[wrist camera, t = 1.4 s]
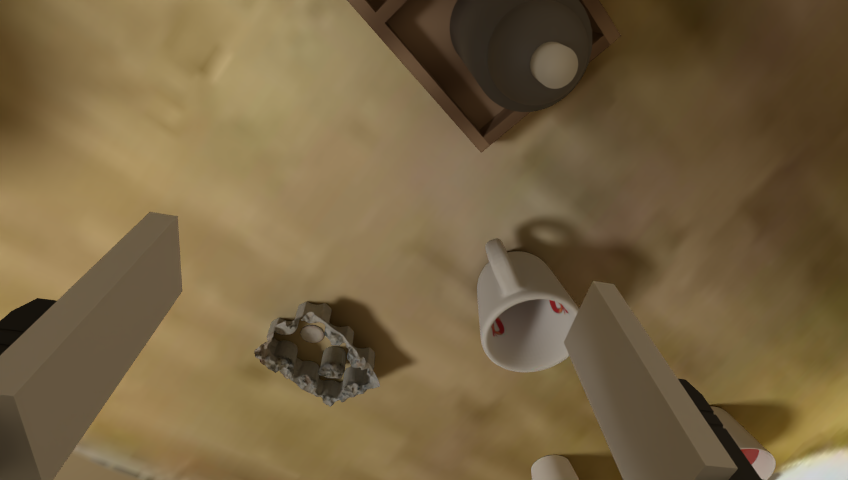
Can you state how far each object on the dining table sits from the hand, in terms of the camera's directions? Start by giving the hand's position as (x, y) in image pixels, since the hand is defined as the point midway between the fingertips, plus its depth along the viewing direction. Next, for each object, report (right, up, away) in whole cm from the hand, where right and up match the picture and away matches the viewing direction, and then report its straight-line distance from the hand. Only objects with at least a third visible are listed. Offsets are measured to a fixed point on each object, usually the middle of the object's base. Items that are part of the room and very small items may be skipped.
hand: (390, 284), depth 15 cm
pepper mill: (+6, +16, +16) cm, 23 cm away
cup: (+8, -1, +27) cm, 28 cm away
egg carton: (-9, -8, +31) cm, 33 cm away
